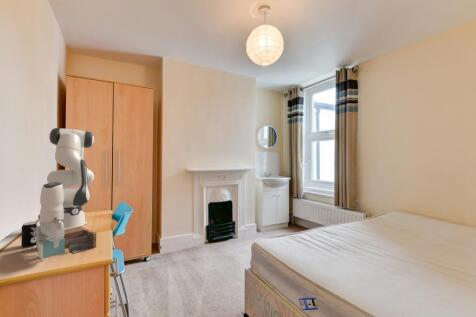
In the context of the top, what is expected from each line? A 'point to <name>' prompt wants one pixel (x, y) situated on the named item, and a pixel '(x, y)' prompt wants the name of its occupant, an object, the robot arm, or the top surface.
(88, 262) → the top surface
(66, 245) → the book stack with bookend
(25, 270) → the top surface
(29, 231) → the beverage can
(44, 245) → the boxed book
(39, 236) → the supplement box
